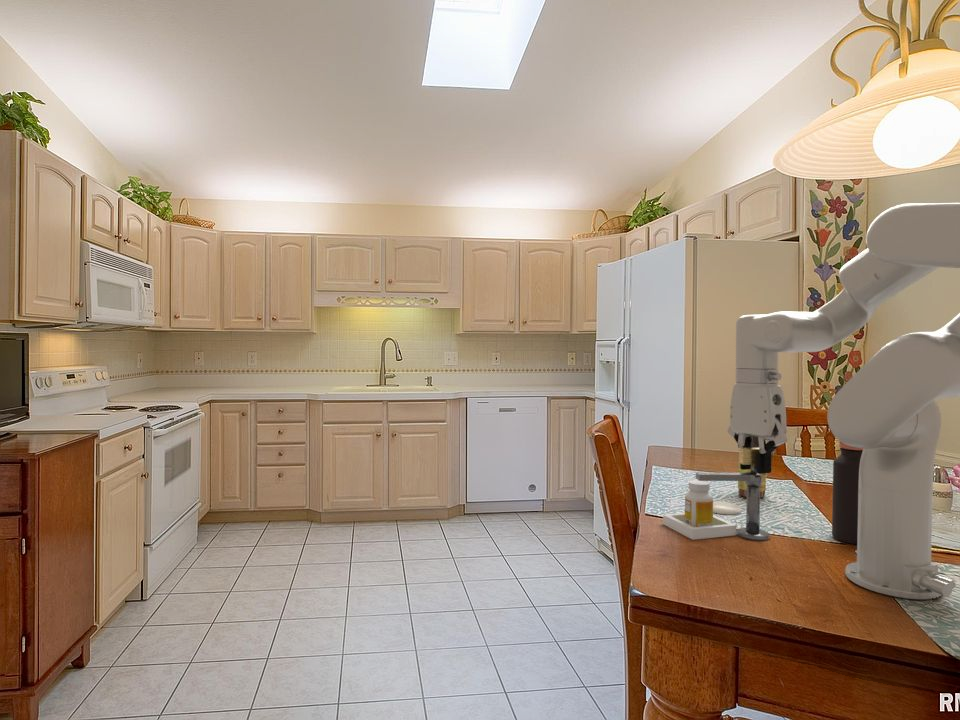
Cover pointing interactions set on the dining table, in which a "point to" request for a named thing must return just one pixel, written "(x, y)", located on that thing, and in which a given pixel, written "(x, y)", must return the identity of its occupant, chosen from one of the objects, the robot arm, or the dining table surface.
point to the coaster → (725, 508)
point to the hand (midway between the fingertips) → (755, 470)
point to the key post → (753, 517)
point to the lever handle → (751, 478)
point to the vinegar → (846, 494)
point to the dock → (717, 530)
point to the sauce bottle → (741, 484)
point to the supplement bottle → (698, 504)
